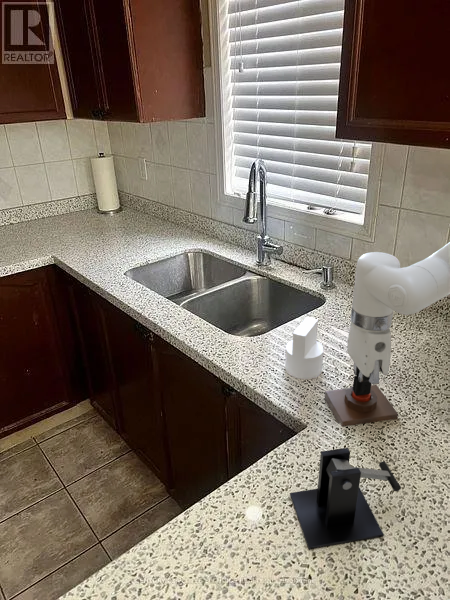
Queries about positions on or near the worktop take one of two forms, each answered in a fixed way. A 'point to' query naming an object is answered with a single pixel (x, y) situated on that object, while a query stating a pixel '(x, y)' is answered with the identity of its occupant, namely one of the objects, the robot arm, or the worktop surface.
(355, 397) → the button
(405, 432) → the worktop surface
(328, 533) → the black lever stand
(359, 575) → the worktop surface
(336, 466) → the lever
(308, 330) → the base with upright slab
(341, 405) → the control block
